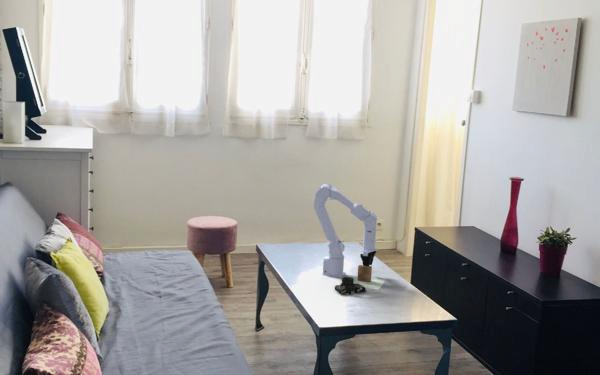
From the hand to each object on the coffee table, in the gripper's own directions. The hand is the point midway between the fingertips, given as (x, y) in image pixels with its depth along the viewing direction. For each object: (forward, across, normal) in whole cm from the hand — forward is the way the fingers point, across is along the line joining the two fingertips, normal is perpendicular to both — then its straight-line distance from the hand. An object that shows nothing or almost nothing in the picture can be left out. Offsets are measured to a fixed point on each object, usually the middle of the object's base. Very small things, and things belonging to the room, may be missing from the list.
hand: (367, 267), depth 300 cm
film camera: (+6, -23, +3) cm, 24 cm away
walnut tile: (+5, -6, 0) cm, 8 cm away
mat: (+5, -9, 0) cm, 11 cm away
